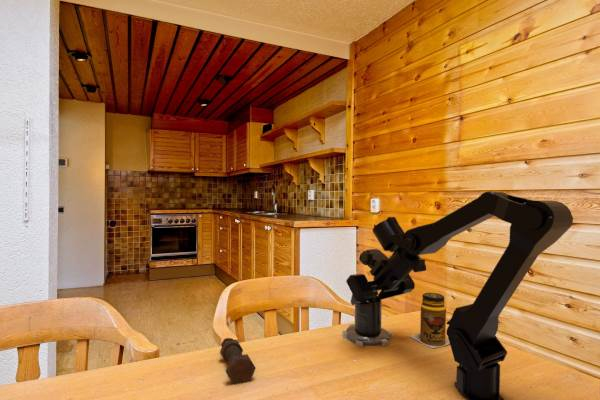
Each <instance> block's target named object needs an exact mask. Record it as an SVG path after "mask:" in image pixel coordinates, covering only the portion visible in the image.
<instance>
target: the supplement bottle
mask: <svg viewBox="0 0 600 400" xmlns="http://www.w3.org/2000/svg"><path fill="white" fill-rule="evenodd" d="M378 294H379V291H373V296H372V297H371V298H370V299H369V300H368V301H365V302H362V303H359V304H356V305H354V324H355V332H356V333H357V334H358V335H361V336H364V337H376V336H379V335H380V334H381V328H382V313H383V312H382V306H383V305H382V303H383V302H382V300H381V299H380V298H379V297H377V296H378Z"/></svg>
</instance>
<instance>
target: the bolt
mask: <svg viewBox="0 0 600 400" xmlns="http://www.w3.org/2000/svg"><path fill="white" fill-rule="evenodd" d="M219 353H220V355H221V357H222V358H223V360H224V361H225V362H226V363H228V365H227V367H226V369H225V373H226V375H227V377H228V378H229V379H230V382H231V383H232V384H233V385H239V384H245V383H248V382H250V381H251V379H252V378H253V376H254V374H255V372H256V366H255V364H254V363H253V360H251V358H250V356H249V355H248V353H247V354H243V353H244V349H243V348H242V346H241V344H240V343H239V341H238V339H233V338H231V337H227V338H226V337H225V338H224V339H223V340H222V342H221V348H220V351H219Z"/></svg>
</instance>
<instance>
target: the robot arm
mask: <svg viewBox="0 0 600 400" xmlns="http://www.w3.org/2000/svg"><path fill="white" fill-rule="evenodd" d="M493 217H496V218H497V219H500V220H501V221H503V222H506V223H509V224H510V226H509V240H508V241H509V242H508V245H507V247H506V248H505V250H504V251H503V253H502V255H500V256H501V257H500V258H499V260H498V261H497V263H496V265H495V267H494V269H493V270H492V271H491V273H490V275H489V276H488V278H487V279H486V281H485V283H484V284H483V287H482V288H481V290H480V291H479V293H478V295H477V296H476V298H475V299H474V300H473V303H471V304H467V305H462V306H458V307H456V308H454V310H453V313H452V315H451V318H450V319H449V320H447V321H446V325H448V326H447V328H446V332H445V335H446V336H447V339H448V341H449V342H450V344H449V345H450V348H451V352H452V353H451V354H452V356H453V360H454V362H456V363H458V365H457V366H456V378H455V379H456V381H455V382H454V386H455V388H457V389H458V390H459V392H460V393H461V394H462V396H463V397H464V398H465V399H466V400H505V398H504V397H503V396H502V395H501V394H500V393H501V389H500V386H501V364H500V362H503V361H505V360H506V359H505V358H506V357H507V355H508V351H507V349H506V348H505V347H504V345H503V344H502V342H501V341H500V340H499V339H498V337H497V332H498V329H499V316H500V315H501V313H502V312H503V310H504V308H505V307H506V306H507V304H508V302H509V301H510V300H511V298H512V297H513V294H514V293H515V292H516V290H517V289H518V287H519V286H520V284H521V282H522V281H523V279H525V277H526V275H527V274H528V272H529V270H530V269H531V267H532V266H533V264H534V263H535V262H536V260H537V258H538V256H540V255H541V254H542V253H544V252H545V251H546V250H547V249H549V248H550V247H551V246H553V245H554V244H555V243H556V242H557V241H558V240H559V239H560V238H562V237H563V236H564V234H566V232H567V231H569V230H570V228H571V226H572V225H573V222H574V217H573V214H572V211H571V210H570V208H569V206H568V205H566V204H565V203H563V202H560V201H558V200H533V199H529V198H524V197H519V196H515V195H511V194H509V193H506V192H504V191H485V192H482V193H481V194H480V195H479V196H478V197H477V198H475V199H473V200H472V201H469V202H467V203H466V204H464V205H463V206H461V207H459V208H457V209H455V210H453V211H452V212H450V213H449V214H447V215H445V216H443V217H441V218H440V219H438V220H436V221H434V222H431V223H428V224H427V223H426V224H423V225H420V226H416V227H413V228H410V229H408V230H406V231H404V230H403V228H402V227H401V225H400V224H399V222H398V220H397V218H396V217H395V216H388V217H387V218H386V219H385V220H383V221H381V222H379V223H377V224H375V225H374V226H373V227H372V233H373V235H374V236H375V238H376V240H377V241H378V243H379V244H380V246H381V248H382V249H383V250H384V252H385V251H386V252H390V253H392V254H391V255H390V256H389V257H388V256H387V255H386V254H385V253H384V252H382V251H381V250H380V249H377V248H371V249H365V250H363V251H362V252H361V253H360V254H359V257H358V260H359V262H360V263H362V264H363V266H367V267H368V268H370V270H369V273H370V275H371V276H373V280H372V281H371V280H370V281H369V280H368V278H367V277H366V274H364V273H356V274H350V275H349V276H348V278H346V280H345V282H346V284H347V286H348V288H349V290H350V292H351V297H350V304H351V306H355V305H356V304H359V303H362V302H365V301H368V300H369V299H370V298H371V297H372V296H373V291H378V295H377V297H379V298H380V299H381V301H382V300H384V299H385V300H386V299H389V298H393V297H397V296H401V295H405V294H409V293H411V292H412V291H413V290H414V289H415V288H416V287H415V285H416V284H415V281H414V280H413V278H412V277H411V275H410V273H411V272H412V271H413V273H420V272H425V271H427V264H426V259H422V258H421V257H420V256H423V255H428V254H429V255H430V254H433V255H434V254H436V253H437V252H439V251H440V250H441V249H442V248H444V247H446V245H447V243H448V242H449V241H450V240H451V239H452V238H454V237H455V236H458V235H460V234H461V233H464V232H465V231H468V230H469V229H471V228H474V227H476V226H477V225H480V224H481V223H483V222H485V221H487V220H489V219H491V218H493ZM379 291H380V292H379Z"/></svg>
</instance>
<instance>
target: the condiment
mask: <svg viewBox="0 0 600 400" xmlns="http://www.w3.org/2000/svg"><path fill="white" fill-rule="evenodd" d="M421 296H422V300H421V302H422V303H421V305H420V324H419V325H420V328H419V329H420V330H419V331H420V332H419V333H416V334H412V335H408V337H410V338H411V339H413V340H415V341H418V342H419V343H420V344H422V345H424V346H427V347H429V348H430V349H435V348H441V347H445V346H448V345H450V342H449V339H448V340H447V339H446V338H447V337H446V336H447V335H446V333H447V328H446V327H447V324H446V322H447V309H446V306H445V296H444V295H442V294H441V293H436V292H424V293H423V294H422V295H421ZM419 337H420V339H419Z"/></svg>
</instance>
